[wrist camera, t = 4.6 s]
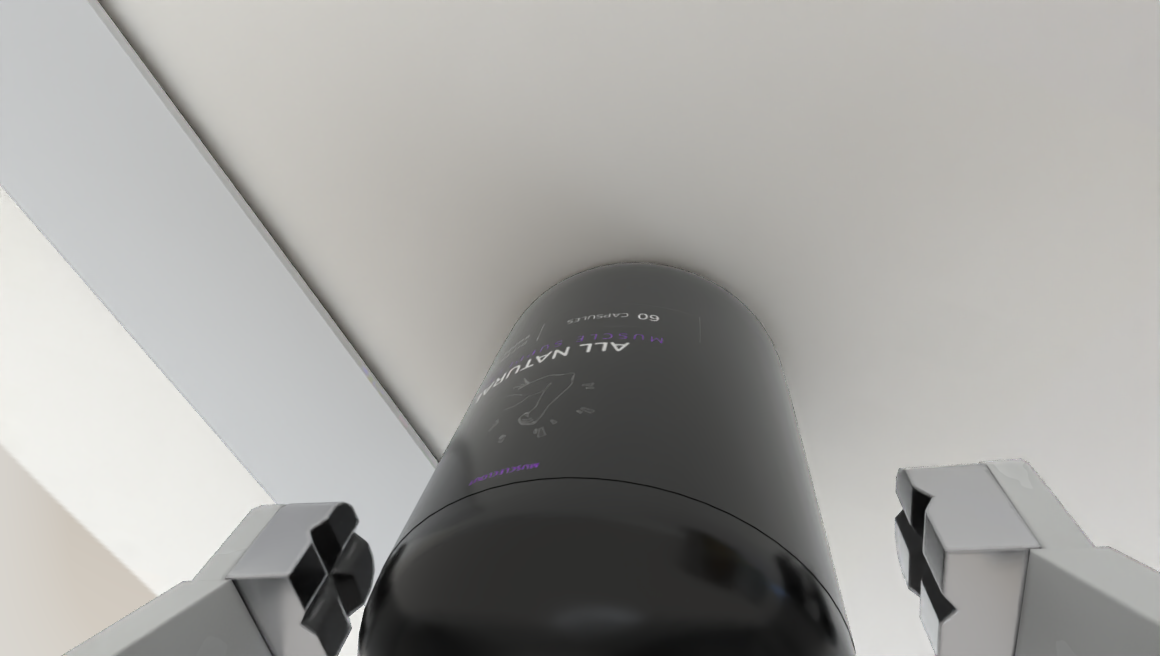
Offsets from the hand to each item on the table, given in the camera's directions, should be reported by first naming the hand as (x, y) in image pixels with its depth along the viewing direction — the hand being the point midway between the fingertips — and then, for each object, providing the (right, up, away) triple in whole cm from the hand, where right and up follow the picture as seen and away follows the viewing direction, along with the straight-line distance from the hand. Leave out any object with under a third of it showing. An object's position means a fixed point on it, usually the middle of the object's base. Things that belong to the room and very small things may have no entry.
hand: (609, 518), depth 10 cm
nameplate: (-8, +1, +8) cm, 11 cm away
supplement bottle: (+1, +2, +7) cm, 7 cm away
